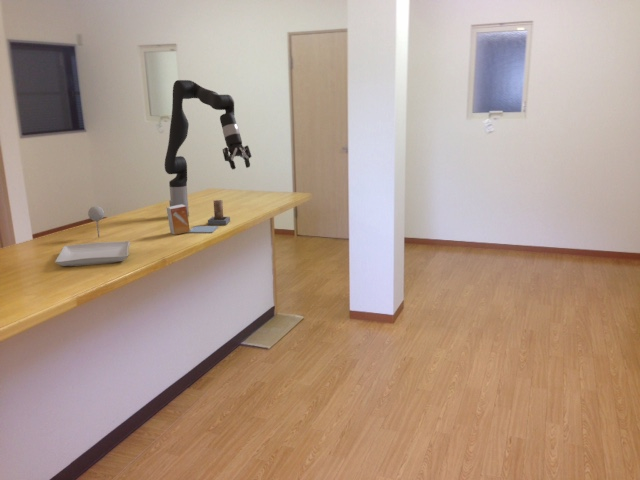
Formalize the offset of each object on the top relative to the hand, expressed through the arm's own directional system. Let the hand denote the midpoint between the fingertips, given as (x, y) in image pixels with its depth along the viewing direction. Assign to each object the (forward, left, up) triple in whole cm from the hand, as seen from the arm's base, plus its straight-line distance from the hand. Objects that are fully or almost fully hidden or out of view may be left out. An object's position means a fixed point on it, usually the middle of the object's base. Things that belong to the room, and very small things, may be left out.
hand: (241, 168), depth 266 cm
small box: (-31, -2, -31) cm, 44 cm away
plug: (-18, +20, -31) cm, 41 cm away
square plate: (-54, -46, -32) cm, 77 cm away
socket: (-18, +20, -31) cm, 41 cm away
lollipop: (-69, -11, -32) cm, 76 cm away
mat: (-22, +4, -31) cm, 38 cm away
